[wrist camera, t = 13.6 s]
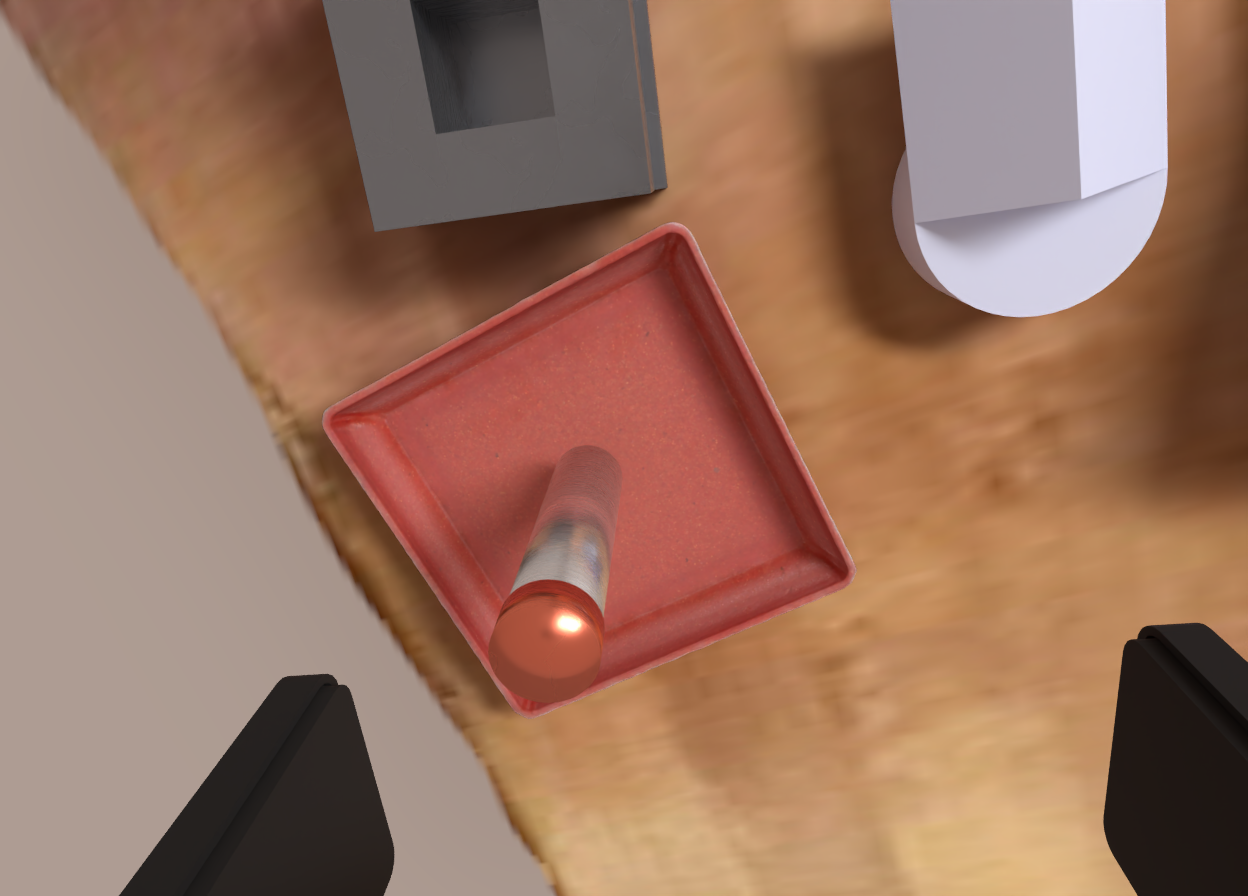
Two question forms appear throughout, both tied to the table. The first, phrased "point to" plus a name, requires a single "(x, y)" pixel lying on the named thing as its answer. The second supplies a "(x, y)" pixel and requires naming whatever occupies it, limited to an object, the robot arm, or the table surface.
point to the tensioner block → (497, 104)
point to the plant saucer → (622, 425)
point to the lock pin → (561, 584)
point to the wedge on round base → (1029, 145)
